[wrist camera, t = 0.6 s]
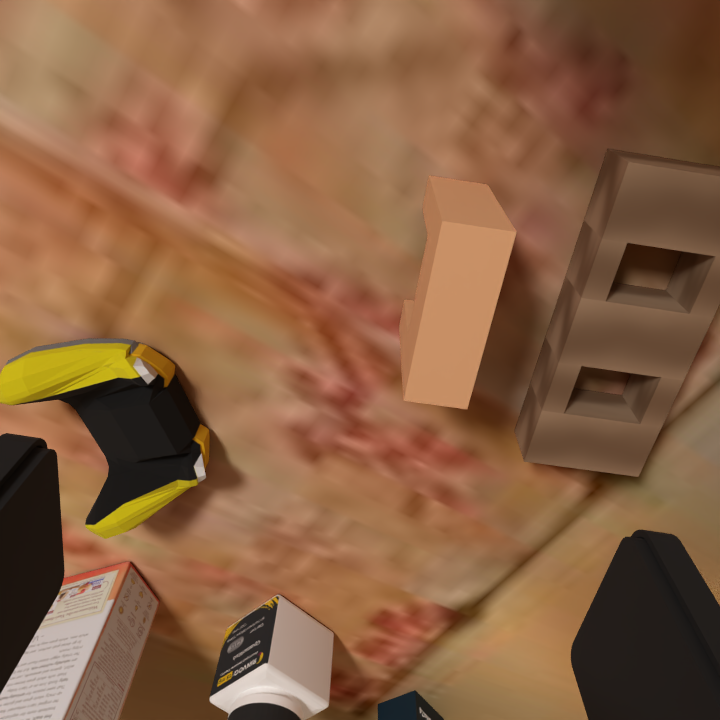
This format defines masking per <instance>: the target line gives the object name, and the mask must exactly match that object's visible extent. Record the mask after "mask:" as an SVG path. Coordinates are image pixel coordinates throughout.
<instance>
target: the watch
mask: <svg viewBox="0 0 720 720" xmlns="http://www.w3.org/2000/svg"><path fill="white" fill-rule="evenodd" d="M378 720H444V719H443V718H442V717H441V716H440V715H439V714H438V713H437V712H436V711H435V710H434V709H433V708H432V707H431V706H430V705H429V704H428V703H427V702H426V701H425V700H424V699H423V698H422V697H421V696H420V695H419V694H418V693H417V692H416V691H412V692H410V693H407V694H404V695H402V696H399V697H396V698H393V699H391V700H388V701H385V702H383V703H380V704H378Z"/></svg>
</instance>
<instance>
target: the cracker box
mask: <svg viewBox="0 0 720 720" xmlns="http://www.w3.org/2000/svg"><path fill="white" fill-rule="evenodd" d="M159 604H160V601H159V600H158V599H157V597H156V596H155V595H154V594H153V592H152V591H151V589H150V588H149V587H148V585H147V584H146V583H145V581H144V580H143V579H142V577H141V576H140V575H139V573H138V572H137V571H136V569H135V568H134V567H133V565H132V564H131V563H130V562H124V563H120V564H117V565H113V566H109V567H105V568H101V569H97V570H94V571H90V572H86V573H82V574H78V575H75V576H71V577H67V578H64V579H63V583H62V587H61V589H60V592H59V594H58V596H57V598H56V599H55V601H54V603H53V604H52V606H51V608H50V610H49V611H48V613H47V615H46V617H45V618H44V620H43V622H42V623H41V625H40V627H39V629H38V630H37V632H36V634H35V635H34V637H33V639H32V641H31V642H30V644H29V646H28V647H27V649H26V651H25V653H24V654H23V656H22V658H21V660H20V661H19V663H18V665H17V666H16V668H15V670H14V672H13V673H12V675H11V677H10V678H9V680H8V682H7V684H6V685H5V687H4V689H3V690H2V692H1V694H0V720H119V718H120V715H121V713H122V710H123V707H124V704H125V701H126V698H127V695H128V693H129V690H130V687H131V684H132V681H133V678H134V675H135V672H136V670H137V667H138V664H139V661H140V658H141V655H142V652H143V650H144V647H145V644H146V641H147V638H148V636H149V632H150V630H151V627H152V624H153V621H154V618H155V615H156V612H157V609H158V606H159Z"/></svg>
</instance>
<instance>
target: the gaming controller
mask: <svg viewBox="0 0 720 720" xmlns="http://www.w3.org/2000/svg"><path fill="white" fill-rule="evenodd" d="M174 373H175V365H174V364H173V363H172V362H171V361H170V360H169V359H167V358H166V357H164V356H162V355H161V354H159V353H158V352H156V351H155V350H153V349H152V348H150V347H148V346H147V345H145V344H143V343H139V342H135V341H133V340H128V339H83V340H76V341H70V342H64V343H57V344H51V345H45V346H38V347H35V348H33V349H31V350H28V351H26V352H24V353H22V354H20V355H18V356H16V357H14V358H12V359H10V360H8V362H7V363H6V365H5V367H4V368H3V370H2V372H1V374H0V403H3V404H8V405H19V404H26V403H34V402H43V401H51V400H61V401H64V402H66V403H69V404H70V405H71V406H72V407H73V408H74V409H76V411H77V412H78V414H79V416H80V417H81V419H82V420H83V422H84V423H85V425H86V427H87V428H88V430H89V431H90V433H91V434H92V436H93V438H94V439H95V441H96V442H97V444H98V445H99V447H100V449H101V450H102V452H103V453H104V455H105V456H106V459H107V462H108V465H109V472H108V478H107V480H106V482H105V484H104V486H103V488H102V490H101V492H100V494H99V496H98V498H97V500H96V501H95V503H94V505H93V507H92V509H91V511H90V513H89V515H88V517H87V518H86V524H85V526H86V528H87V529H89V530H90V531H91V532H93V533H94V534H96V535H99V536H101V537H103V538H105V539H106V538H109V537H112V536H115V535H118V534H121V533H124V532H127V531H129V530H131V529H134V528H136V527H137V526H139V525H140V524H141V523H143V522H144V521H145V520H147V519H148V518H149V517H151V516H152V515H153V514H155V513H156V512H157V511H159V510H160V509H161V508H163V507H164V506H165V505H167V504H168V503H169V502H171V501H172V500H173V499H175V498H176V497H178V496H179V495H180V494H182V493H183V492H185V491H186V490H188V489H189V488H190V487H193V486H197V485H198V483H199V482H200V481H202V480H204V479H205V478H206V474H205V469H206V466H207V464H208V462H209V446H210V435H209V429H207V428H206V427H204V426H203V425H201V424H200V421H199V419H198V417H197V415H196V413H195V411H194V410H193V408H192V406H191V404H190V402H189V400H188V398H187V396H186V394H185V393H184V391H183V389H182V387H181V385H180V383H179V381H178V379H177V377H176V375H175V374H174Z"/></svg>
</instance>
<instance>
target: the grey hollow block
mask: <svg viewBox="0 0 720 720" xmlns="http://www.w3.org/2000/svg"><path fill="white" fill-rule="evenodd" d="M627 243H632V244H639V245H645V246H652V247H658V248H665V249H671V250H678V251H682V254H681V256H680V258H679V261H678V263H677V265H676V268H675V270H674V273H673V275H672V277H671V280H670V282H669V285H668V287H667V289H666V290H659V289H652V288H646V287H639V286H632V285H626V284H619V283H613V280H614V277H615V275H616V272H617V269H618V267H619V264H620V261H621V259H622V256H623V253H624V251H625V248H626V245H627ZM719 305H720V167H718V166H711V165H705V164H699V163H693V162H687V161H680V160H674V159H668V158H662V157H655V156H649V155H643V154H637V153H630V152H624V151H618V150H612V149H607V152H606V155H605V158H604V161H603V164H602V167H601V170H600V173H599V176H598V179H597V182H596V186H595V189H594V192H593V195H592V198H591V201H590V204H589V207H588V210H587V213H586V216H585V219H584V222H583V225H582V228H581V231H580V234H579V237H578V240H577V243H576V246H575V249H574V252H573V255H572V258H571V261H570V264H569V267H568V270H567V273H566V276H565V279H564V282H563V285H562V289H561V292H560V295H559V298H558V301H557V304H556V307H555V310H554V313H553V316H552V319H551V322H550V325H549V328H548V331H547V334H546V337H545V340H544V343H543V346H542V349H541V352H540V355H539V358H538V361H537V364H536V367H535V370H534V373H533V376H532V379H531V382H530V385H529V388H528V392H527V395H526V398H525V401H524V404H523V407H522V410H521V413H520V416H519V419H518V422H517V425H516V428H515V434H516V437H517V441H518V444H519V447H520V450H521V453H522V456H523V459H524V462H532V463H539V464H547V465H554V466H562V467H569V468H576V469H584V470H591V471H599V472H606V473H614V474H621V475H628V476H636V477H639V474H640V472H641V470H642V468H643V466H644V464H645V462H646V460H647V457H648V455H649V453H650V451H651V449H652V447H653V445H654V443H655V441H656V438H657V436H658V434H659V432H660V430H661V428H662V426H663V424H664V421H665V419H666V417H667V415H668V413H669V411H670V409H671V407H672V404H673V402H674V400H675V398H676V396H677V394H678V392H679V390H680V387H681V385H682V383H683V381H684V379H685V377H686V375H687V373H688V371H689V368H690V366H691V364H692V362H693V360H694V358H695V356H696V354H697V351H698V349H699V347H700V345H701V343H702V341H703V339H704V337H705V334H706V332H707V330H708V328H709V326H710V324H711V322H712V320H713V317H714V315H715V313H716V311H717V309H718V307H719ZM581 366H585V367H592V368H599V369H606V370H613V371H620V372H627V373H631V375H630V377H629V380H628V382H627V385H626V387H625V389H624V392H623V394H622V395H617V394H610V393H603V392H596V391H589V390H581V389H574V385H575V382H576V380H577V377H578V374H579V372H580V369H581Z"/></svg>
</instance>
